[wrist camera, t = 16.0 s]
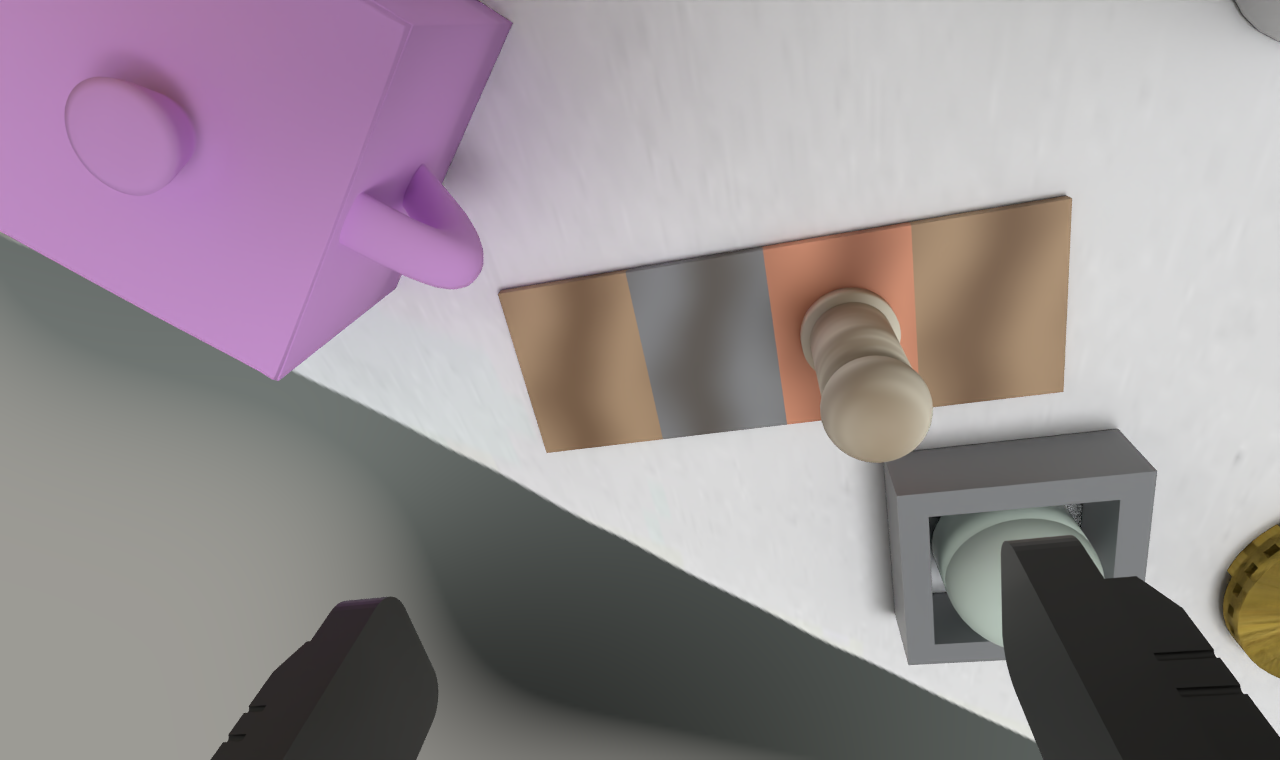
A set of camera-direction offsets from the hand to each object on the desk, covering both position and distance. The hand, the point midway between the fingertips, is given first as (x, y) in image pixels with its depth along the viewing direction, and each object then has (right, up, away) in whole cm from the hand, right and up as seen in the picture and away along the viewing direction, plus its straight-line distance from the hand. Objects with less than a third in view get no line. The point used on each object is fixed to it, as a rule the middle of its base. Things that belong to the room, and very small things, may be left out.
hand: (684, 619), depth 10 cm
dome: (+20, -6, +32) cm, 38 cm away
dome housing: (+20, -6, +32) cm, 38 cm away
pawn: (+10, +6, +27) cm, 30 cm away
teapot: (-17, +18, +26) cm, 36 cm away
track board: (+7, +5, +29) cm, 30 cm away
